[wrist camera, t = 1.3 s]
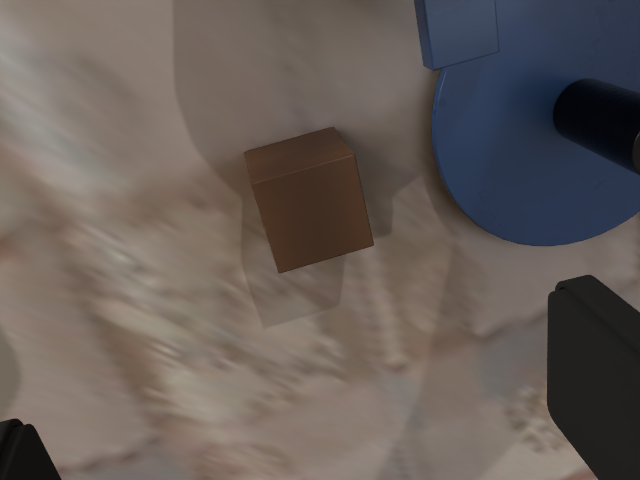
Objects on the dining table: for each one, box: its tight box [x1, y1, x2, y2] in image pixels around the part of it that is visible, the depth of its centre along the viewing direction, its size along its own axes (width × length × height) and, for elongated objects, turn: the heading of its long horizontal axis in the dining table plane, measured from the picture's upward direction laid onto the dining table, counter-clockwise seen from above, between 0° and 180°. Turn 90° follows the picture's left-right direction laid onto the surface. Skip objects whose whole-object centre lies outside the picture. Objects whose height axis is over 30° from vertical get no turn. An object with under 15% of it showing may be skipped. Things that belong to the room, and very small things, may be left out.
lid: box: [431, 0, 640, 246], centre depth 26 cm, size 15×15×7 cm
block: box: [245, 127, 374, 273], centre depth 27 cm, size 4×4×4 cm
